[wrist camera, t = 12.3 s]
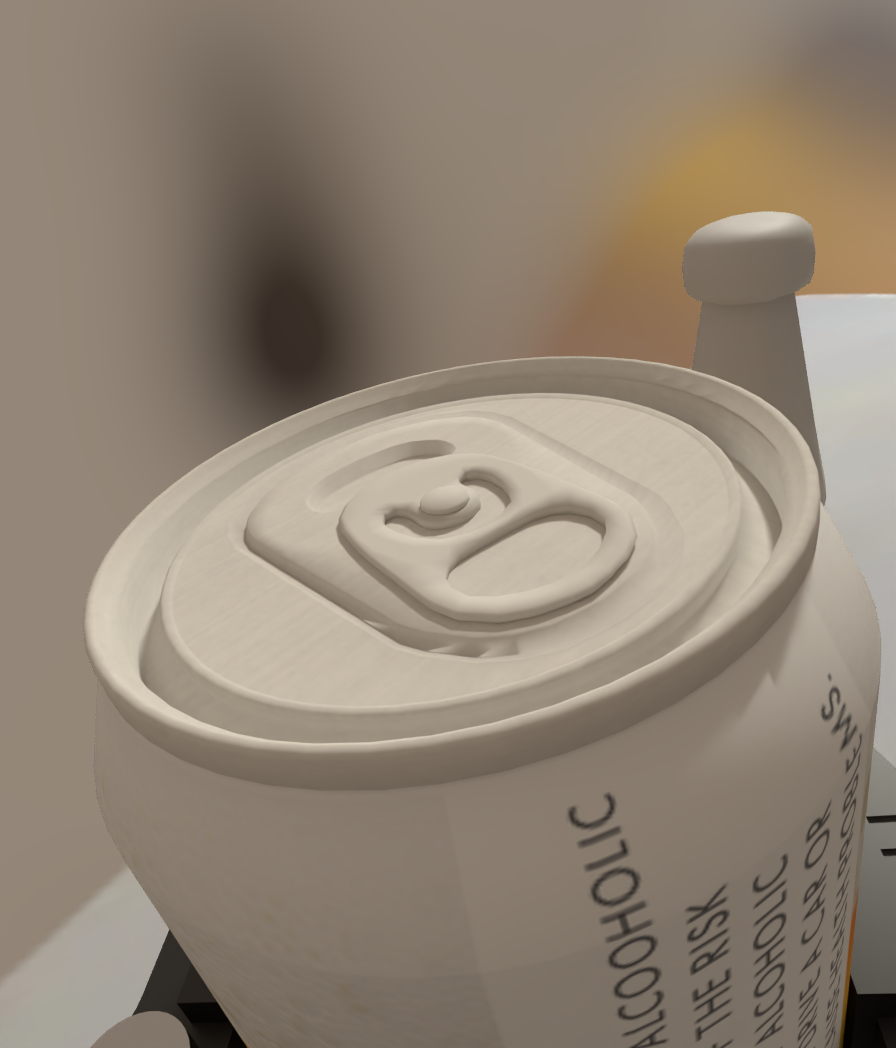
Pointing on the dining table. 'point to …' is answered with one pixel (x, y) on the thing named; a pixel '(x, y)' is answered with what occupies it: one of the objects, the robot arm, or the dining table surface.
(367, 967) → the beer can
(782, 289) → the salt shaker
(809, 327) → the dining table surface
